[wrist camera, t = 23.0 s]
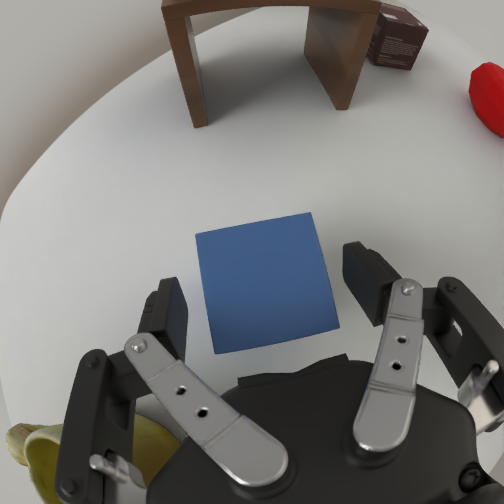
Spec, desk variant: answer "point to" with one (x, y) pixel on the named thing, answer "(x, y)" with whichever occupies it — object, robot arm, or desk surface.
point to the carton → (265, 283)
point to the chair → (316, 46)
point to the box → (396, 38)
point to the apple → (489, 96)
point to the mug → (48, 441)
